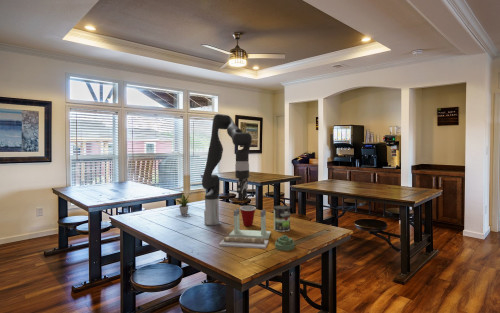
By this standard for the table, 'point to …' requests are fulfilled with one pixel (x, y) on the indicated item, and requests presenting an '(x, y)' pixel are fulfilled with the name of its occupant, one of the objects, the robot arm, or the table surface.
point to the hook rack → (250, 233)
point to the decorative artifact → (284, 243)
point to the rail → (244, 239)
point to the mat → (244, 244)
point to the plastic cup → (247, 214)
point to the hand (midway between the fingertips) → (242, 198)
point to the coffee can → (281, 218)
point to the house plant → (183, 204)
